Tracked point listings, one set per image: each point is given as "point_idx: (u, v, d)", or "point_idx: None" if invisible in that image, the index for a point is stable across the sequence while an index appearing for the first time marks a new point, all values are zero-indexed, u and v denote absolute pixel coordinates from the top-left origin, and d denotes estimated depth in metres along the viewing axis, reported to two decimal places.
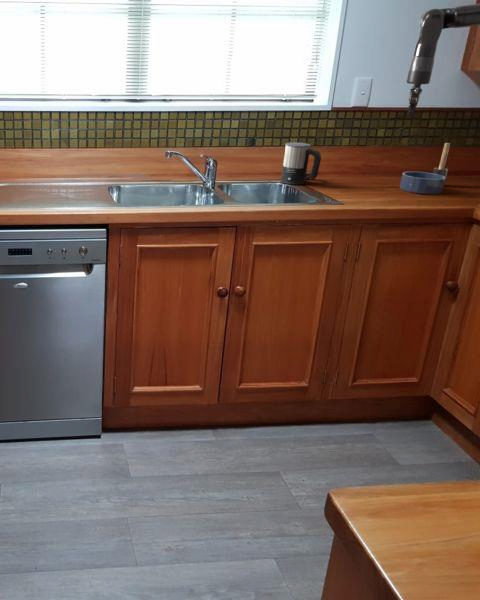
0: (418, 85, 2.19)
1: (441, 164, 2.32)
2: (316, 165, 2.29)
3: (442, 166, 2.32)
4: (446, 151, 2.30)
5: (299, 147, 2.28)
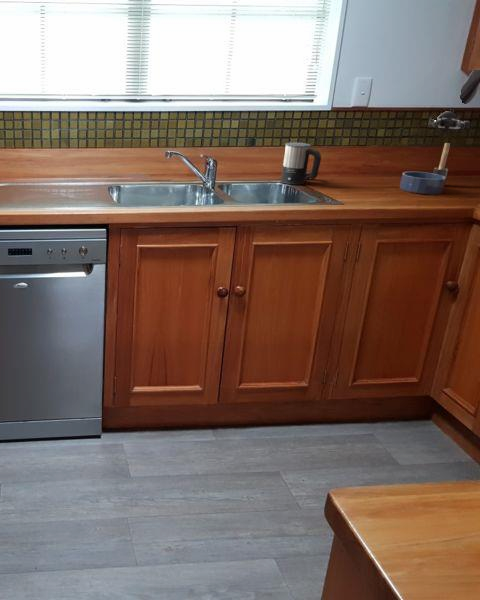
0: None
1: (441, 164, 2.32)
2: (316, 165, 2.29)
3: (442, 166, 2.32)
4: (446, 151, 2.30)
5: (299, 147, 2.28)
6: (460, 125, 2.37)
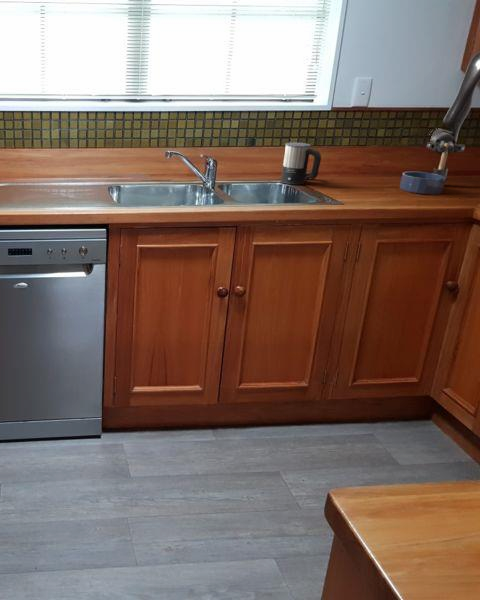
0: None
1: (441, 164, 2.32)
2: (316, 165, 2.29)
3: (442, 166, 2.32)
4: (446, 151, 2.30)
5: (299, 147, 2.28)
6: None
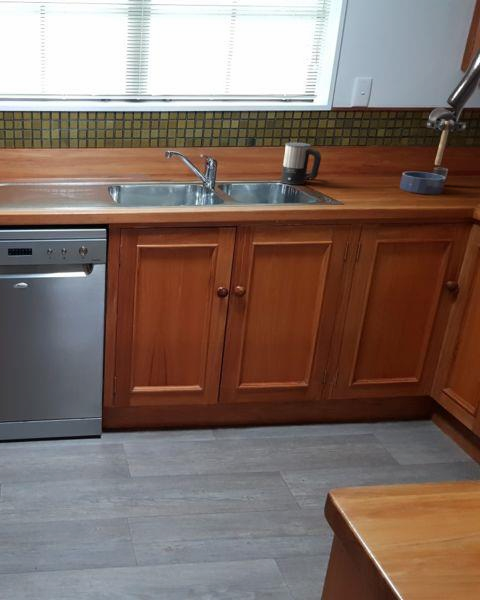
0: None
1: (441, 143, 2.27)
2: (316, 165, 2.29)
3: (442, 145, 2.27)
4: (446, 129, 2.24)
5: (299, 147, 2.28)
6: (449, 126, 2.24)
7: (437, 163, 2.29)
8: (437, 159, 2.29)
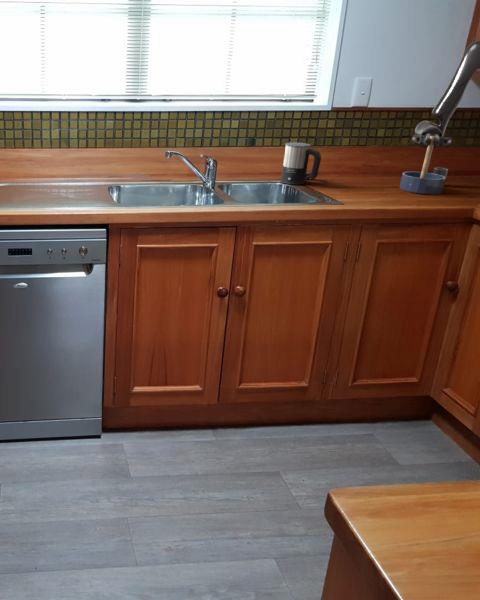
0: None
1: (426, 158, 2.23)
2: (316, 165, 2.29)
3: (427, 160, 2.23)
4: (431, 144, 2.21)
5: (299, 147, 2.28)
6: (434, 142, 2.20)
7: None
8: (422, 174, 2.25)
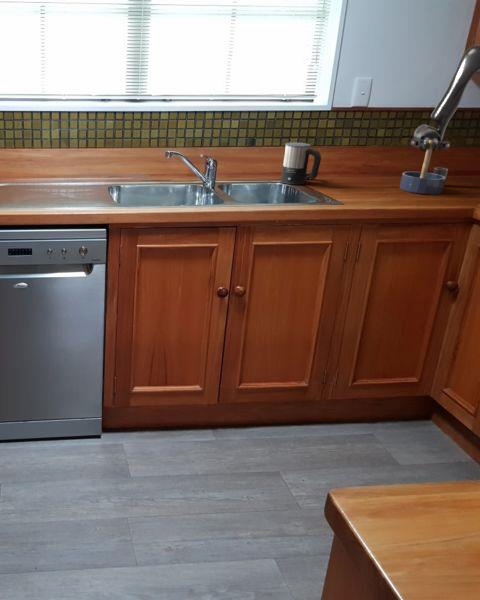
0: None
1: (425, 162, 2.25)
2: (316, 165, 2.29)
3: (426, 164, 2.25)
4: (430, 148, 2.23)
5: (299, 147, 2.28)
6: (433, 146, 2.23)
7: None
8: None
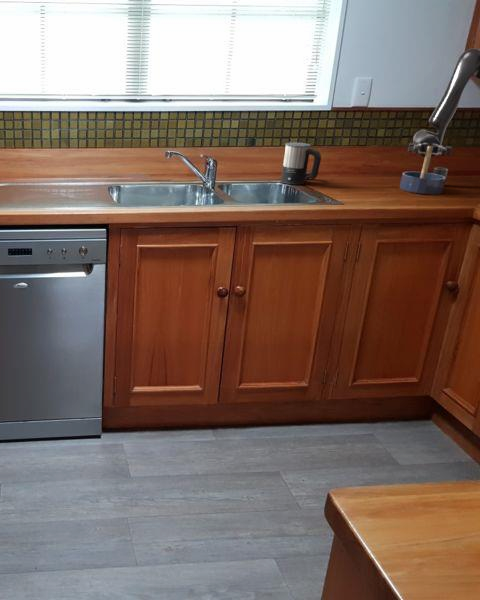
0: None
1: (424, 168, 2.24)
2: (316, 165, 2.29)
3: (425, 170, 2.24)
4: (429, 154, 2.22)
5: (299, 147, 2.28)
6: (441, 151, 2.21)
7: None
8: None
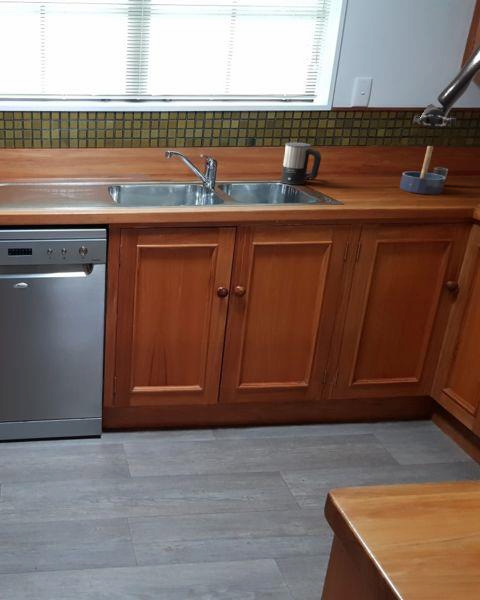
0: None
1: (424, 168, 2.24)
2: (316, 165, 2.29)
3: (425, 170, 2.24)
4: (429, 154, 2.22)
5: (299, 147, 2.28)
6: (446, 122, 2.28)
7: None
8: None
